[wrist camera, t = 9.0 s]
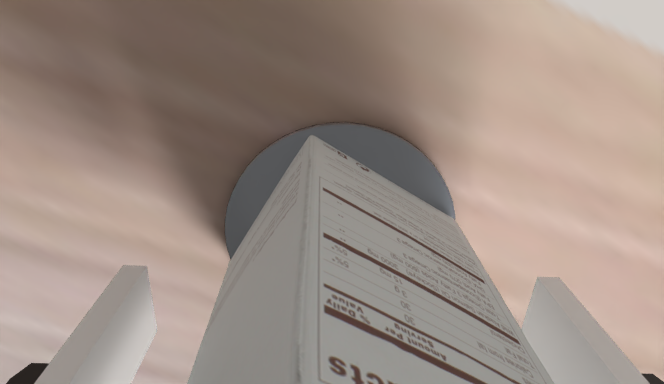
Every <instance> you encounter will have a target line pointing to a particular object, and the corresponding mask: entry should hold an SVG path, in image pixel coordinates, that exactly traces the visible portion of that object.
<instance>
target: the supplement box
mask: <svg viewBox="0 0 664 384" xmlns="http://www.w3.org/2000/svg"><path fill="white" fill-rule="evenodd" d="M187 384H554V382H553V381H552V379H551V377H550V376H549V374H548V373H547V371H546V369H545V368H544V366H543V364H542V363H541V361H540V360H539V358H538V356H537V355H536V353H535V352H534V350H533V349H532V347H531V345H530V344H529V342H528V340H527V339H526V337H525V335H524V333H523V332H522V330H521V328H520V327H519V325H518V323H517V322H516V320H515V318H514V317H513V315H512V314H511V312H510V310H509V309H508V307H507V305H506V304H505V302H504V300H503V298H502V297H501V295H500V293H499V292H498V290H497V288H496V287H495V285H494V283H493V282H492V280H491V278H490V277H489V275H488V273H487V272H486V271H485V269H484V267H483V265H482V264H481V262H480V260H479V259H478V257H477V255H476V254H475V252H474V250H473V249H472V247H471V245H470V244H469V242H468V240H467V239H466V237H465V235H464V234H463V232H462V230H461V229H460V227H459V225H458V224H457V222H456V221H455V220H454V219H453V218H452V217H450V216H448V215H446V214H445V213H443V212H441V211H440V210H438V209H436V208H434V207H433V206H431V205H430V204H428V203H426V202H425V201H423V200H421V199H419V198H418V197H416V196H415V195H413V194H411V193H409V192H408V191H406V190H404V189H403V188H401V187H399V186H397V185H396V184H395V183H393V182H391V181H390V180H388V179H386V178H384V177H383V176H381V175H380V174H378V173H376V172H375V171H373V170H371V169H369V168H368V167H366V166H365V165H363V164H361V163H360V162H358V161H356V160H355V159H353V158H351V157H349V156H348V155H346V154H345V153H343V152H341V151H339V150H337V149H336V148H334V147H333V146H331V145H329V144H328V143H326V142H324V141H323V140H321V139H319V138H318V137H316V136H314V135H310V136H309V137H308V139H307V140H306V142H305V143H304V145H303V146H302V148H301V149H300V150H299V152H298V153H297V155H296V156H295V158H294V159H293V161H292V162H291V164H290V166H289V167H288V169H287V170H286V172H285V173H284V175H283V177H282V178H281V180H280V181H279V183H278V184H277V186H276V188H275V189H274V191H273V192H272V194H271V196H270V197H269V199H268V200H267V202H266V204H265V205H264V207H263V208H262V210H261V212H260V213H259V215H258V217H257V218H256V220H255V221H254V223H253V225H252V226H251V228H250V229H249V231H248V233H247V234H246V236H245V237H244V239H243V241H242V242H241V244H240V246H239V247H238V249H237V250H236V252H235V254H234V255H233V257H232V259H231V260H230V262H229V264H228V268H227V271H226V274H225V277H224V280H223V283H222V285H221V288H220V291H219V294H218V296H217V299H216V302H215V306H214V308H213V311H212V314H211V317H210V320H209V323H208V326H207V329H206V331H205V334H204V337H203V340H202V343H201V345H200V348H199V351H198V354H197V357H196V360H195V363H194V366H193V369H192V371H191V374H190V377H189V380H188V383H187Z"/></svg>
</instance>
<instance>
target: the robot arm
mask: <svg viewBox="0 0 664 384" xmlns="http://www.w3.org/2000/svg"><path fill="white" fill-rule="evenodd" d="M521 330H522V332H523V333H524V335H525V337H526V339H527V340H528V342H529V344H530V345H531V347H532V349H533V350H534V352H535V353H536V355H537V356H538V358H539V360H540V361H541V363H542V364H543V366H544V368H545V369H546V371H547V373H548V374H549V376H550V377H551V379H552V381H553V382H554V384H664V382H663V381H661V380H660V379H659V378H657V377H656V376H655V375H653V374H641V373H640V372H639V370H638V369H637V368H636V367H635V366H634V365H633V363H632V362H631V361H630V360H629V359H628V358H627V356H626V355H625V354H624V353H623V352H622V350H621V349H620V348H619V347H618V346H617V345H616V343H615V342H614V341H613V340H612V339H611V338H610V336H609V335H608V334H607V333H606V332H605V331H604V329H603V328H602V327H601V326H600V325H599V324H598V322H597V321H596V320H595V319H594V318H593V316H592V315H591V314H590V313H589V312H588V311H587V309H586V308H585V307H584V306H583V305H582V304H581V302H580V301H579V300H578V299H577V298H576V297H575V295H574V294H573V293H572V292H571V291H570V290H569V288H568V287H567V286H566V285H565V284H564V282H563V281H562V280H561V279H560V278H556V277H537V280H536V283H535V286H534V290H533V293H532V296H531V299H530V303H529V306H528V309H527V312H526V316H525V319H524V322H523V325H522V329H521ZM156 332H157V325H156V319H155V312H154V306H153V300H152V294H151V288H150V282H149V276H148V270H147V266H126V265H123V266H122V268H121V269H120V270H119V272H118V273H117V274H116V276H115V277H114V278H113V280H112V281H111V282H110V284H109V285H108V286H107V288H106V289H105V290H104V292H103V293H102V294H101V296H100V297H99V298H98V299H97V301H96V302H95V303H94V305H93V306H92V307H91V309H90V310H89V311H88V313H87V314H86V315H85V317H84V318H83V319H82V321H81V322H80V323H79V325H78V326H77V327H76V329H75V330H74V331H73V333H72V334H71V335H70V337H69V338H68V339H67V341H66V342H65V343H64V345H63V346H62V347H61V349H60V350H59V351H58V353H57V354H56V355H55V357H54V358H53V359H52V361H51V362H50V363H49V364H47V363H31V364H29V365H28V366H27V367H25V368H24V369H23V370H21V371H20V372H19V373H17V374H16V375H15V376H13V377H12V378H11V379H10V380H9V381H8V382H7V383H6V384H131V382H132V380H133V378H134V376H135V374H136V372H137V370H138V368H139V366H140V364H141V362H142V360H143V358H144V356H145V354H146V352H147V350H148V348H149V346H150V344H151V342H152V340H153V338H154V336H155V334H156Z"/></svg>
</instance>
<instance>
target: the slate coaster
mask: <svg viewBox="0 0 664 384" xmlns="http://www.w3.org/2000/svg"><path fill="white" fill-rule="evenodd" d="M310 135H314V136H316V137H318V138H319V139H321V140H323V141H324V142H326V143H328V144H329V145H331V146H333V147H334V148H336V149H337V150H339V151H341V152H343V153H345V154H346V155H348V156H349V157H351V158H353V159H355V160H356V161H358V162H360V163H361V164H363V165H365V166H366V167H368V168H369V169H371V170H373V171H375V172H376V173H378V174H380V175H381V176H383V177H384V178H386V179H388V180H390V181H391V182H393V183H395V184H396V185H397V186H399V187H401V188H403V189H404V190H406V191H408V192H409V193H411V194H413V195H415V196H416V197H418V198H419V199H421V200H423V201H425V202H426V203H428V204H430V205H431V206H433V207H434V208H436V209H438V210H440V211H441V212H443V213H445V214H446V215H448V216H450V217H452V218H453V219H454V220H455V211H454V206H453V201H452V198H451V195H450V193H449V190H448V188H447V186H446V184H445V182H444V180H443V178H442V176H441V175H440V173H439V172H438V170H437V169H436V168H435V166H434V165H433V164H432V162H431V161H430V160H429V159H428V158H427V157H426V156H425V155H424V154H423V153H422V152H421V151H420V150H419V149H418V148H416V147H415V146H414V145H412V144H411V143H410V142H408V141H407V140H405V139H403V138H401V137H399V136H397V135H396V134H394V133H391V132H388V131H386V130H383V129H381V128H377V127H373V126H369V125H365V124H357V123H348V122H344V123H326V124H319V125H314V126H310V127H307V128H303V129H300V130H297V131H295V132H292V133H290V134H288V135H285V136H283V137H282V138H280V139H278V140H277V141H275V142H273V143H272V144H270V145H269V146H268V147H267V148H265V149H264V150H263V151H262V152H260V153H259V154H258V155H257V156H256V157H255V158H254V159H253V160H252V161H251V163H250V164H249V165H248V166H247V167H246V169H245V170H244V172H243V173H242V175H241V176H240V178H239V180H238V182H237V184H236V186H235V188H234V190H233V192H232V194H231V197H230V200H229V203H228V207H227V212H226V218H225V237H226V244H227V249H228V252H229V255H230V259H232V257H233V255H234V254H235V252H236V250H237V249H238V247H239V246H240V244H241V242H242V241H243V239H244V237H245V236H246V234H247V233H248V231H249V229H250V228H251V226H252V225H253V223H254V221H255V220H256V218H257V217H258V215H259V213H260V212H261V210H262V208H263V207H264V205H265V204H266V202H267V200H268V199H269V197H270V196H271V194H272V192H273V191H274V189H275V188H276V186H277V184H278V183H279V181H280V180H281V178H282V177H283V175H284V173H285V172H286V170H287V169H288V167H289V166H290V164H291V162H292V161H293V159H294V158H295V156H296V155H297V153H298V152H299V150H300V149H301V148H302V146H303V145H304V143H305V142H306V140H307V139H308V137H309V136H310Z"/></svg>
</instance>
